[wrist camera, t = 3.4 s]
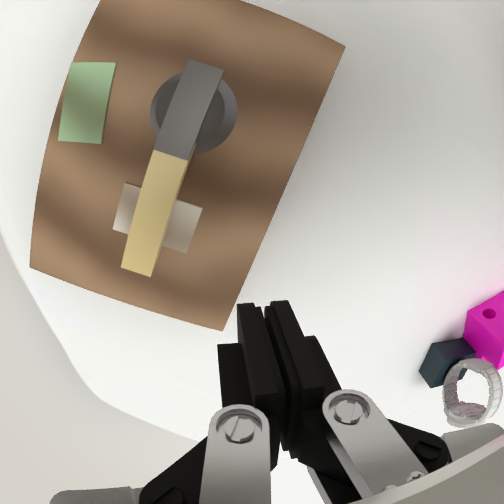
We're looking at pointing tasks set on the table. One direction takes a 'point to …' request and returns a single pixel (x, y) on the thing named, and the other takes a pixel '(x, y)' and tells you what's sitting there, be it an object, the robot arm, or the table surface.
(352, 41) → the table surface
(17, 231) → the table surface
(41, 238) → the wooden lever switch board
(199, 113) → the lever handle
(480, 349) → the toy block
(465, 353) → the watch
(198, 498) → the robot arm
